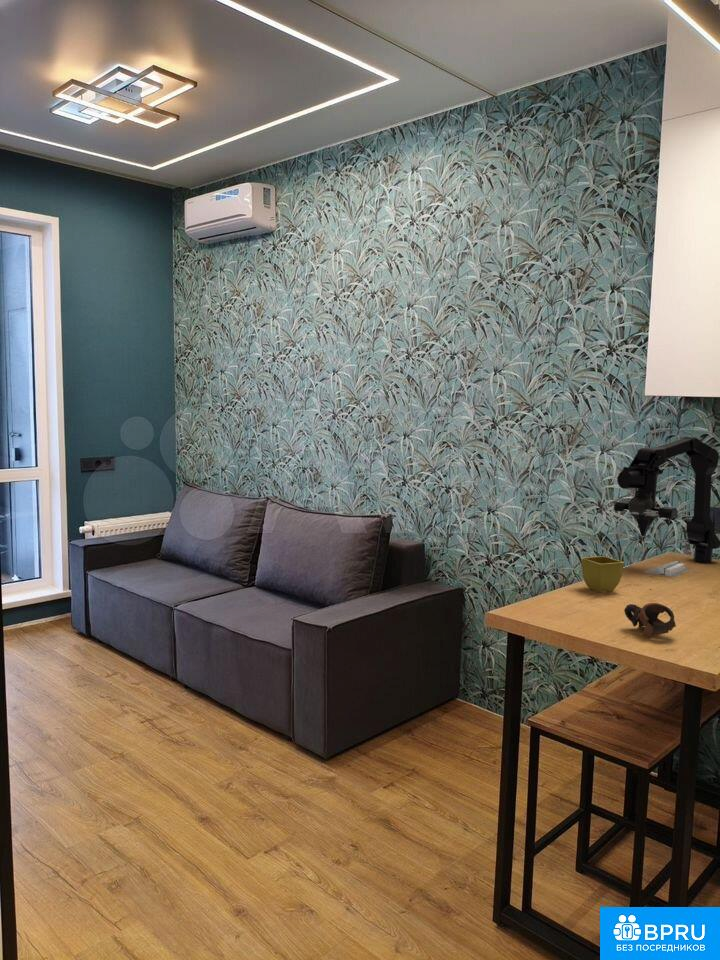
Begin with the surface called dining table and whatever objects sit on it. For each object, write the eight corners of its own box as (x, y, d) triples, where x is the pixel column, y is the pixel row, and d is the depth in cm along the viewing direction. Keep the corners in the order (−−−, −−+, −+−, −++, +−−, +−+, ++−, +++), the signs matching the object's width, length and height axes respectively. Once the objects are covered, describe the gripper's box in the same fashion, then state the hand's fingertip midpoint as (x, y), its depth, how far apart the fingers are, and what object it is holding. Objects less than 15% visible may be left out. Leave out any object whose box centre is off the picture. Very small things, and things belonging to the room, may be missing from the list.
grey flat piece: (663, 567, 248) (664, 558, 248) (691, 572, 242) (691, 563, 241) (643, 575, 236) (644, 565, 236) (672, 580, 230) (672, 571, 230)
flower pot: (578, 587, 219) (580, 557, 218) (601, 585, 222) (604, 555, 221) (598, 595, 211) (600, 564, 210) (622, 592, 214) (625, 562, 213)
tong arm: (674, 566, 244) (675, 560, 244) (680, 567, 243) (680, 561, 243) (658, 573, 234) (658, 566, 234) (664, 574, 233) (664, 567, 233)
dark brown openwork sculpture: (675, 632, 181) (683, 609, 176) (662, 658, 175) (670, 634, 170) (626, 611, 187) (633, 588, 182) (612, 635, 181) (619, 612, 176)
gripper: (607, 486, 239) (604, 534, 241) (666, 493, 226) (662, 543, 228) (622, 483, 247) (619, 530, 249) (680, 490, 235) (676, 539, 236)
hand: (643, 535), depth 241 cm, fingers closed
